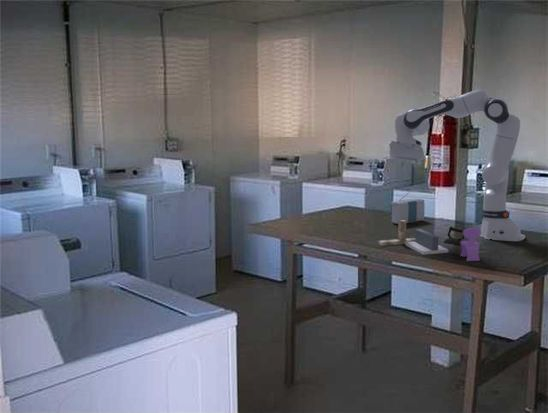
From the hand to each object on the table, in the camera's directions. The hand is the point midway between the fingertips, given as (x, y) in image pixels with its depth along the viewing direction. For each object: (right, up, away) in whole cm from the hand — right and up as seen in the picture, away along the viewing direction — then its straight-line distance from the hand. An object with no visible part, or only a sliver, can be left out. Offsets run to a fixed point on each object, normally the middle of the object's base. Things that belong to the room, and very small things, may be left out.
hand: (408, 166), depth 325 cm
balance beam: (-6, -40, -12) cm, 42 cm away
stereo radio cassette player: (+8, -31, +41) cm, 52 cm away
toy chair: (+18, -45, -44) cm, 66 cm away
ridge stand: (+3, -42, -25) cm, 49 cm away
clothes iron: (+21, -40, -15) cm, 48 cm away
